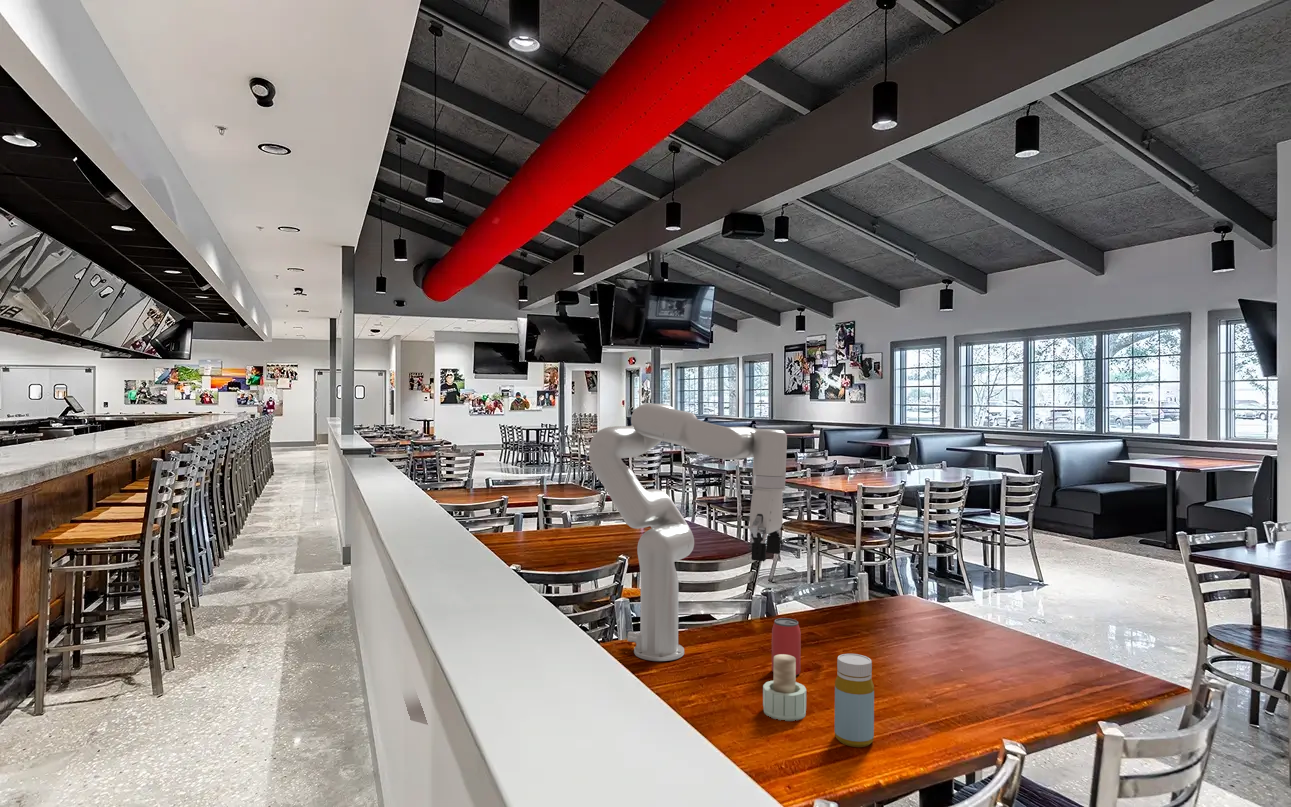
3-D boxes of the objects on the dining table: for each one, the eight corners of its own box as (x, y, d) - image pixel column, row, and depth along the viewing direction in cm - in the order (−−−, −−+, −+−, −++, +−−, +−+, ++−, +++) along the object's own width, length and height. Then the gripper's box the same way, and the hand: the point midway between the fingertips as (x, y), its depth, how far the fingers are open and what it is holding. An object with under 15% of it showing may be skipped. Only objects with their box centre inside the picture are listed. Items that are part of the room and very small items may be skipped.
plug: (770, 709, 147) (770, 659, 147) (776, 701, 151) (777, 653, 151) (791, 713, 145) (792, 663, 145) (797, 705, 149) (798, 656, 149)
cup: (758, 715, 146) (758, 690, 146) (770, 701, 154) (770, 677, 154) (799, 724, 142) (799, 698, 142) (810, 708, 150) (810, 684, 150)
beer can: (800, 679, 166) (800, 626, 167) (771, 676, 168) (771, 624, 168) (800, 669, 173) (800, 618, 173) (772, 666, 174) (772, 616, 174)
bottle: (829, 732, 139) (829, 653, 139) (864, 731, 140) (865, 652, 140) (842, 749, 132) (842, 666, 132) (879, 747, 133) (880, 665, 133)
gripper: (766, 478, 178) (763, 548, 178) (739, 484, 163) (736, 561, 163) (796, 481, 174) (793, 552, 174) (771, 487, 159) (768, 566, 159)
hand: (766, 556), depth 168 cm, fingers open, 9 cm apart
